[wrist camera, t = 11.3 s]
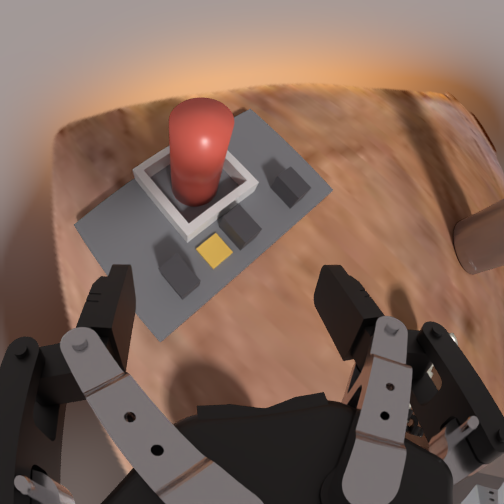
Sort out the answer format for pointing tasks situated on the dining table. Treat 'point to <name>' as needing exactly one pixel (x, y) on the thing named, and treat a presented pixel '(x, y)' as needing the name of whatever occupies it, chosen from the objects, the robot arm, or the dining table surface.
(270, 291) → the dining table surface
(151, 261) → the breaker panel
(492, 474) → the circuit breaker
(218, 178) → the cap
